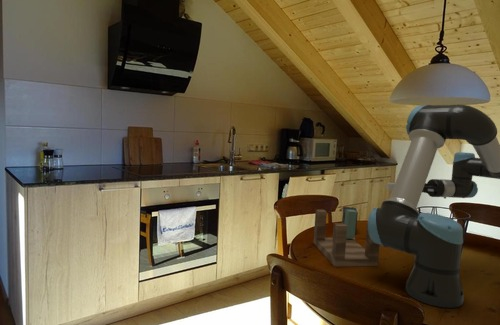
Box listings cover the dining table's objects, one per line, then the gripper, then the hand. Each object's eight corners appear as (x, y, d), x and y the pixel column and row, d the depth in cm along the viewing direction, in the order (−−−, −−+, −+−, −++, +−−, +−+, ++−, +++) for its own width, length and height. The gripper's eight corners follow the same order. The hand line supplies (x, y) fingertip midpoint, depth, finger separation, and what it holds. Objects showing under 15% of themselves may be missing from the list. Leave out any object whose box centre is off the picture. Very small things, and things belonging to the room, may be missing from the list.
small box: (356, 234, 161) (358, 212, 160) (342, 233, 162) (343, 211, 161) (354, 228, 171) (356, 207, 170) (341, 227, 173) (342, 206, 172)
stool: (377, 265, 124) (381, 226, 123) (334, 266, 122) (337, 225, 121) (350, 243, 148) (352, 209, 147) (313, 243, 146) (315, 209, 145)
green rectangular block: (355, 239, 144) (358, 211, 143) (346, 239, 144) (349, 211, 143) (351, 236, 148) (354, 209, 147) (342, 236, 147) (345, 209, 146)
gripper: (449, 200, 143) (395, 198, 140) (429, 194, 156) (379, 192, 152) (451, 181, 142) (396, 179, 139) (430, 177, 155) (380, 175, 152)
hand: (387, 186), depth 146 cm, fingers closed
